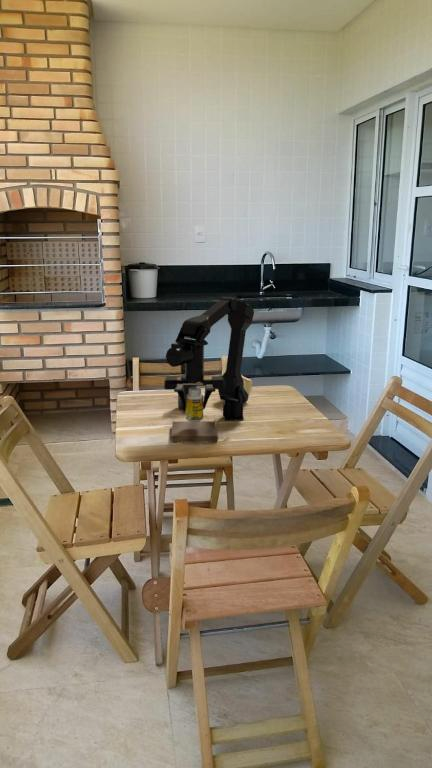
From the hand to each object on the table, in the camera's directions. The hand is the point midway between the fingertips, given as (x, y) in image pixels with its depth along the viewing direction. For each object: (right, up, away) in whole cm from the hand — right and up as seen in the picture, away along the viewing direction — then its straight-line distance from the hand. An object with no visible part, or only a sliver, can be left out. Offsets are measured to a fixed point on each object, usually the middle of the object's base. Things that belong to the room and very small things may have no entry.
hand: (194, 409), depth 186 cm
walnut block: (0, -8, +2) cm, 8 cm away
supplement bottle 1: (-4, -1, +29) cm, 29 cm away
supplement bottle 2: (0, -4, +1) cm, 4 cm away
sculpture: (+14, +1, +38) cm, 40 cm away
